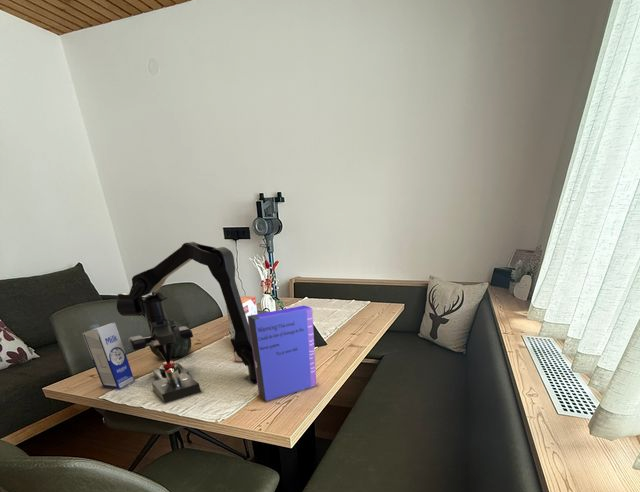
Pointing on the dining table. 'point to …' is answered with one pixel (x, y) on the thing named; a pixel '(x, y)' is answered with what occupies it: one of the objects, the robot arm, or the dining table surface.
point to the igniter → (168, 364)
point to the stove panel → (176, 388)
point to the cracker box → (249, 309)
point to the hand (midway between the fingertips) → (168, 362)
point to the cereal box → (283, 351)
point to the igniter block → (161, 371)
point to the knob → (172, 376)
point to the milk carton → (108, 356)
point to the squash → (181, 344)
